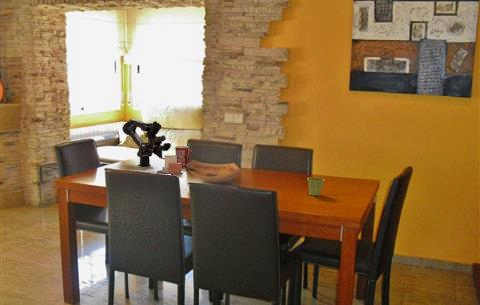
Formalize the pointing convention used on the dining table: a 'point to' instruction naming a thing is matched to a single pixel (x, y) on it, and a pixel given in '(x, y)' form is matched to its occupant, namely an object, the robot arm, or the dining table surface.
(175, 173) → the housing
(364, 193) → the dining table surface
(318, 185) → the plant pot
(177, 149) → the mug
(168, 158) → the pale beige block
